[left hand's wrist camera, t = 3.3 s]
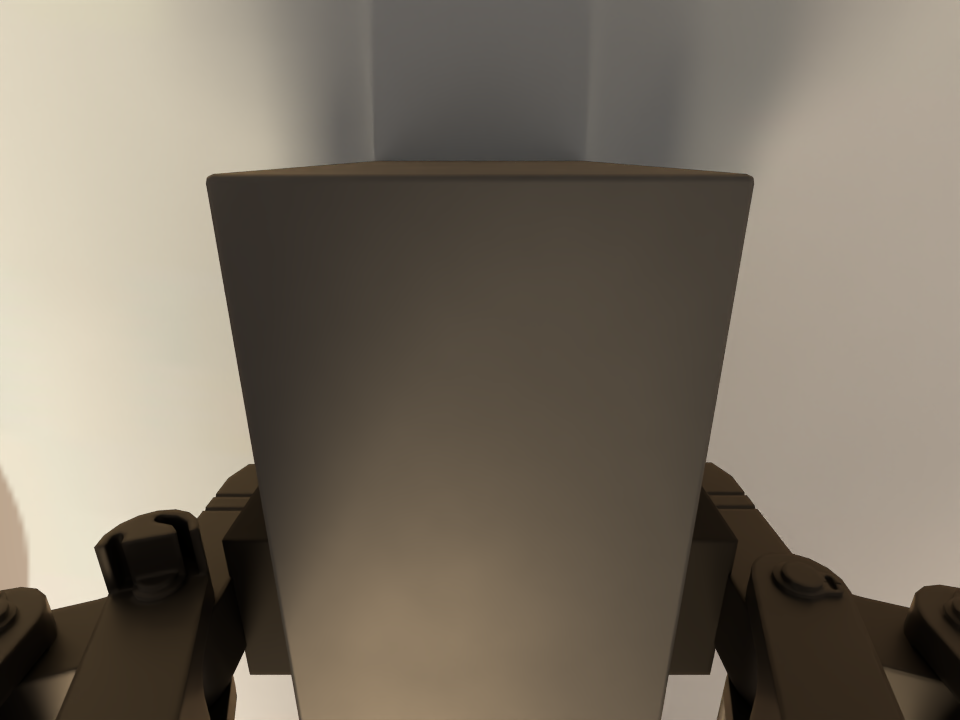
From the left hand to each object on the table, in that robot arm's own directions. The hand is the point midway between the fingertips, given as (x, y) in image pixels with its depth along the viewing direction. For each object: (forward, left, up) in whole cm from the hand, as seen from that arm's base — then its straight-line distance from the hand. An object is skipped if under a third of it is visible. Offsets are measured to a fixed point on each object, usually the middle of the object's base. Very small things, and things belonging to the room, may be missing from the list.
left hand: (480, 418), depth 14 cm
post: (+27, 0, -1) cm, 27 cm away
